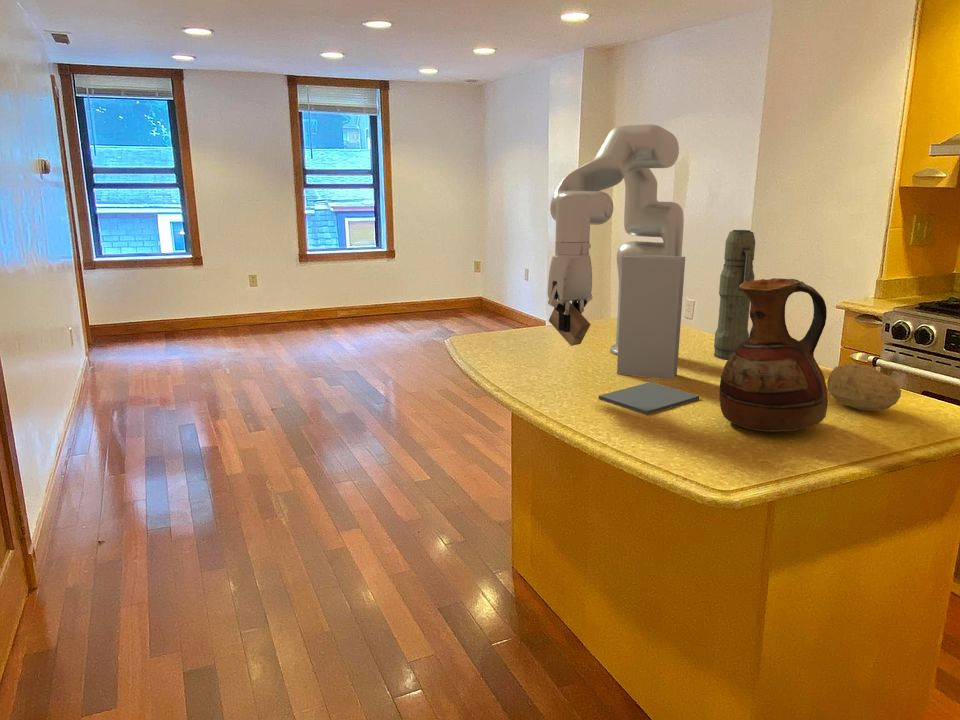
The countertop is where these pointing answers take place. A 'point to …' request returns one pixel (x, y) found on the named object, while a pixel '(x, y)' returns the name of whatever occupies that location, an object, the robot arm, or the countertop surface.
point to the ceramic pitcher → (775, 364)
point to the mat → (648, 398)
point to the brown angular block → (571, 325)
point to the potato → (863, 387)
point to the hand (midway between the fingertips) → (569, 329)
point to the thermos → (734, 293)
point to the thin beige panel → (650, 315)
